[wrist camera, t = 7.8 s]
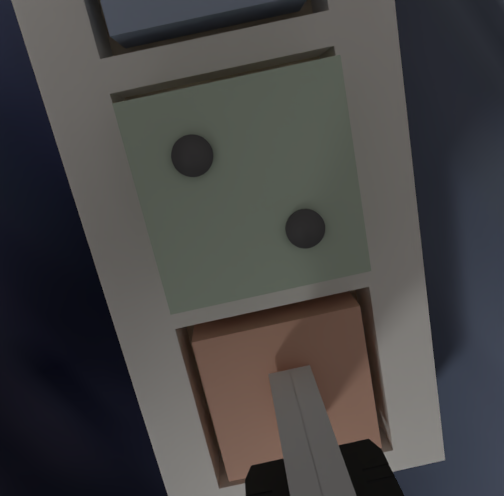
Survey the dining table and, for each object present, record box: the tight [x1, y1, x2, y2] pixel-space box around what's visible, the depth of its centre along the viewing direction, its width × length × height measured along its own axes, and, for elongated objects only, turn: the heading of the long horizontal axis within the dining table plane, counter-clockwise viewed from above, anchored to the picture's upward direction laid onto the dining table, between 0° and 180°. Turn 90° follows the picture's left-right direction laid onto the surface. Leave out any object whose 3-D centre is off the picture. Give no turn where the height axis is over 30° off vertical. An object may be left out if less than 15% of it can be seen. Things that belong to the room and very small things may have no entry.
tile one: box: [192, 291, 382, 482], centre depth 18 cm, size 6×6×2 cm
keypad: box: [11, 0, 445, 496], centre depth 16 cm, size 11×25×3 cm, turn 12°
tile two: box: [112, 55, 371, 315], centre depth 13 cm, size 6×6×2 cm
